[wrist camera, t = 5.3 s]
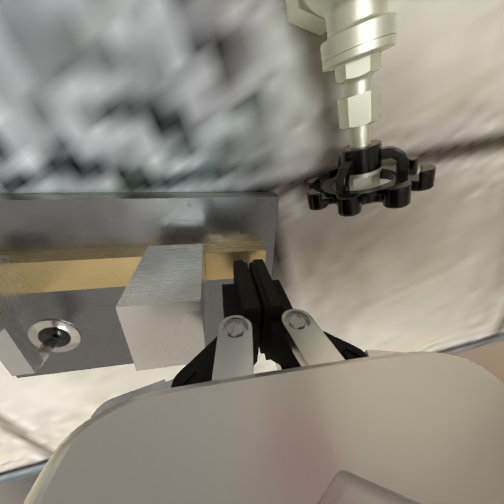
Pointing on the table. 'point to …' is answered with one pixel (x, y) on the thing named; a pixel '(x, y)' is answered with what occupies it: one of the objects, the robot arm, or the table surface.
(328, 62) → the valve
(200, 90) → the table surface
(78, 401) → the table surface
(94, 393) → the table surface
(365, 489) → the robot arm
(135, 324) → the block
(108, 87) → the table surface
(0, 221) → the bolt plate
